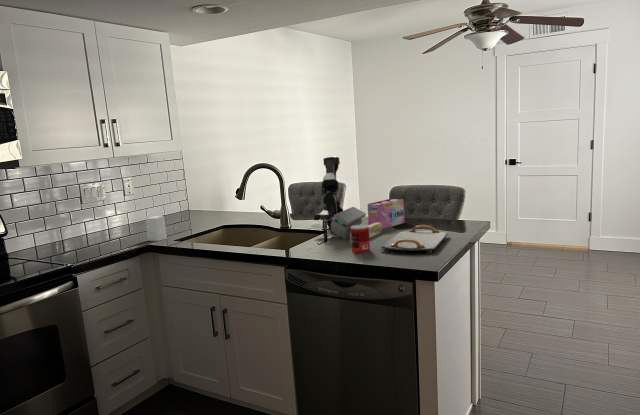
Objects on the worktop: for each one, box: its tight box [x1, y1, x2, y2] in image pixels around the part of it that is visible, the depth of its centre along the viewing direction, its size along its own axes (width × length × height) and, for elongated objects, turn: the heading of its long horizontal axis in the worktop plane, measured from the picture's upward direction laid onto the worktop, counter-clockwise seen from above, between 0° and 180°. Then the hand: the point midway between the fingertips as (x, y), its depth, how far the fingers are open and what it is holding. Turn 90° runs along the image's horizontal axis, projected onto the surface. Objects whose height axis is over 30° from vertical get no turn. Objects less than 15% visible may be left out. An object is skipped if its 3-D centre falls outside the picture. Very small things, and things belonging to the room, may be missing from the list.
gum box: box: [367, 197, 406, 230], centre depth 261 cm, size 24×8×14 cm, turn 135°
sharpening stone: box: [330, 206, 367, 240], centre depth 238 cm, size 25×8×11 cm, turn 155°
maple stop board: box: [349, 222, 383, 245], centre depth 233 cm, size 3×30×5 cm, turn 150°
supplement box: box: [144, 215, 167, 242], centre depth 265 cm, size 7×7×13 cm
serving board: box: [380, 224, 449, 255], centre depth 213 cm, size 39×23×6 cm, turn 156°
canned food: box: [351, 224, 371, 254], centre depth 206 cm, size 8×8×11 cm
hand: (332, 233), depth 243 cm, fingers closed, pressing on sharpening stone
